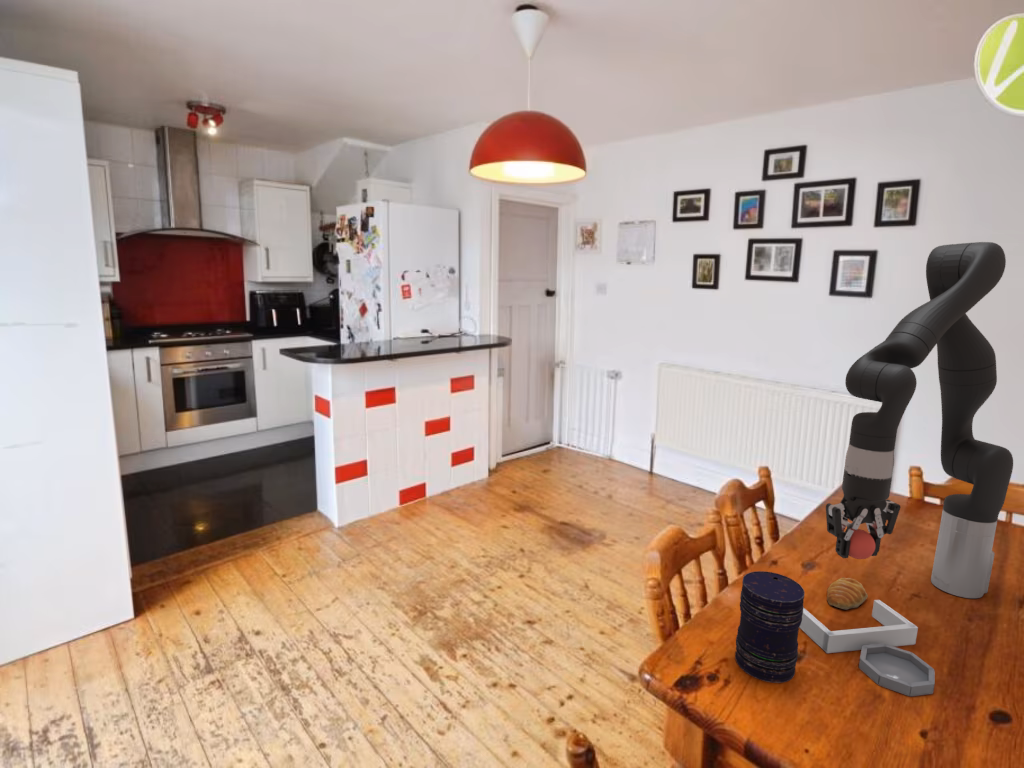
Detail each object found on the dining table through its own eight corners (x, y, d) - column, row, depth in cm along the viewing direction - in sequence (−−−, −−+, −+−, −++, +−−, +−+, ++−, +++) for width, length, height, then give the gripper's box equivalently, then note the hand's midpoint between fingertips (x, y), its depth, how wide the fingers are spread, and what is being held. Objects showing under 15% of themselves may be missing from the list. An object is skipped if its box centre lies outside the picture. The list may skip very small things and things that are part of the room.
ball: (858, 549, 111) (862, 523, 110) (880, 563, 106) (884, 536, 104) (832, 551, 110) (836, 524, 109) (854, 565, 105) (857, 537, 104)
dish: (897, 650, 104) (898, 641, 104) (949, 691, 94) (950, 682, 93) (845, 656, 102) (847, 647, 102) (892, 698, 92) (894, 688, 92)
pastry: (854, 617, 114) (856, 600, 114) (818, 603, 119) (820, 586, 118) (868, 599, 121) (870, 583, 120) (833, 587, 125) (835, 571, 125)
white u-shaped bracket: (877, 615, 115) (879, 599, 114) (915, 644, 106) (918, 627, 105) (794, 623, 112) (796, 606, 111) (827, 653, 103) (829, 635, 102)
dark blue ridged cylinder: (791, 691, 93) (802, 609, 90) (729, 669, 98) (736, 590, 95) (798, 657, 102) (808, 581, 99) (740, 638, 107) (747, 565, 104)
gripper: (886, 461, 109) (874, 543, 112) (818, 464, 107) (808, 548, 110) (919, 475, 102) (906, 562, 105) (847, 479, 100) (836, 568, 103)
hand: (856, 554), depth 108 cm, fingers closed on ball, 5 cm apart
